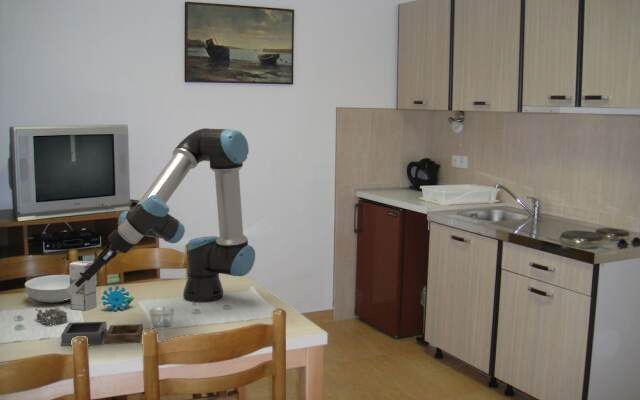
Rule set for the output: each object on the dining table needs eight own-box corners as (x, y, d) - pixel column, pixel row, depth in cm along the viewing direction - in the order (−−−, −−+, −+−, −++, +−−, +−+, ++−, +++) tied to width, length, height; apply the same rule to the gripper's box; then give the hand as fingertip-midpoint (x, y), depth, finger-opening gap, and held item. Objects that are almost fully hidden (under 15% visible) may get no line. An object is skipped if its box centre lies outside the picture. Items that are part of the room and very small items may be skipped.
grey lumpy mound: (34, 320, 223) (33, 308, 222) (56, 315, 228) (55, 304, 227) (47, 327, 215) (47, 315, 215) (70, 322, 220) (69, 310, 220)
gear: (100, 308, 230) (103, 283, 236) (99, 316, 235) (101, 292, 241) (133, 310, 234) (134, 286, 240) (131, 318, 238) (132, 294, 244)
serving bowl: (25, 310, 232) (24, 291, 231) (25, 294, 251) (25, 277, 250) (87, 304, 240) (87, 286, 240) (83, 289, 259) (83, 272, 259)
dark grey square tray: (107, 331, 212) (107, 321, 211) (101, 344, 200) (101, 333, 200) (68, 333, 210) (68, 322, 209) (60, 346, 198) (60, 334, 198)
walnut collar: (142, 331, 213) (142, 323, 212) (139, 342, 203) (139, 334, 203) (110, 332, 211) (110, 325, 211) (105, 343, 201) (105, 335, 201)
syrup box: (97, 307, 205) (96, 261, 204) (85, 311, 200) (84, 264, 198) (81, 305, 207) (80, 259, 206) (69, 310, 201) (68, 263, 200)
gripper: (120, 222, 212) (69, 272, 211) (111, 234, 192) (54, 289, 191) (138, 238, 214) (86, 288, 213) (131, 251, 194) (74, 306, 193)
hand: (71, 288), depth 202 cm, fingers closed on syrup box, 7 cm apart
